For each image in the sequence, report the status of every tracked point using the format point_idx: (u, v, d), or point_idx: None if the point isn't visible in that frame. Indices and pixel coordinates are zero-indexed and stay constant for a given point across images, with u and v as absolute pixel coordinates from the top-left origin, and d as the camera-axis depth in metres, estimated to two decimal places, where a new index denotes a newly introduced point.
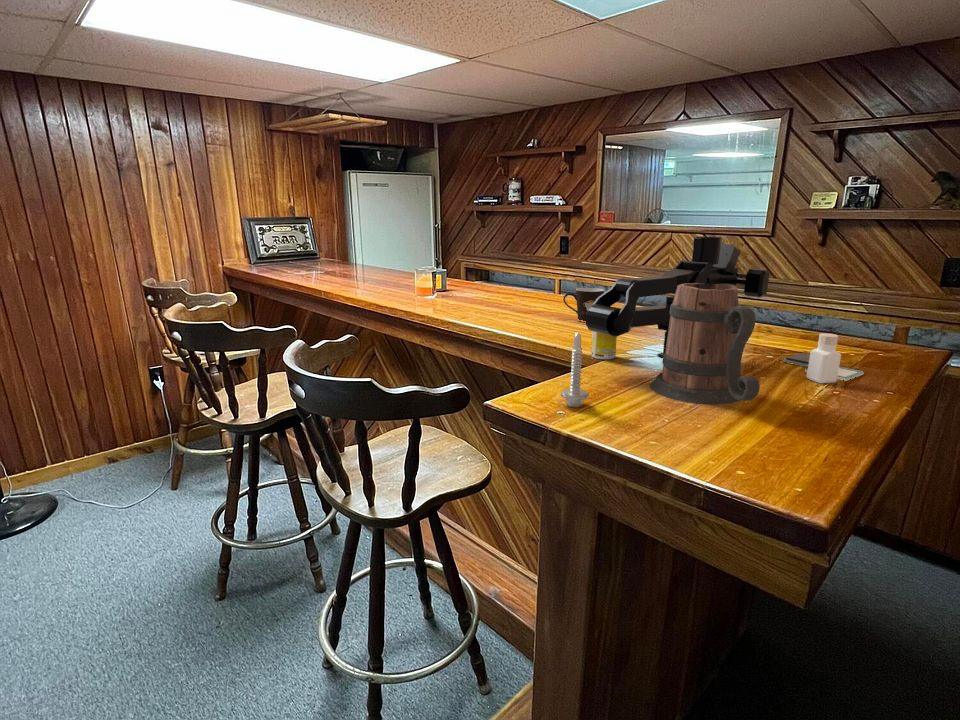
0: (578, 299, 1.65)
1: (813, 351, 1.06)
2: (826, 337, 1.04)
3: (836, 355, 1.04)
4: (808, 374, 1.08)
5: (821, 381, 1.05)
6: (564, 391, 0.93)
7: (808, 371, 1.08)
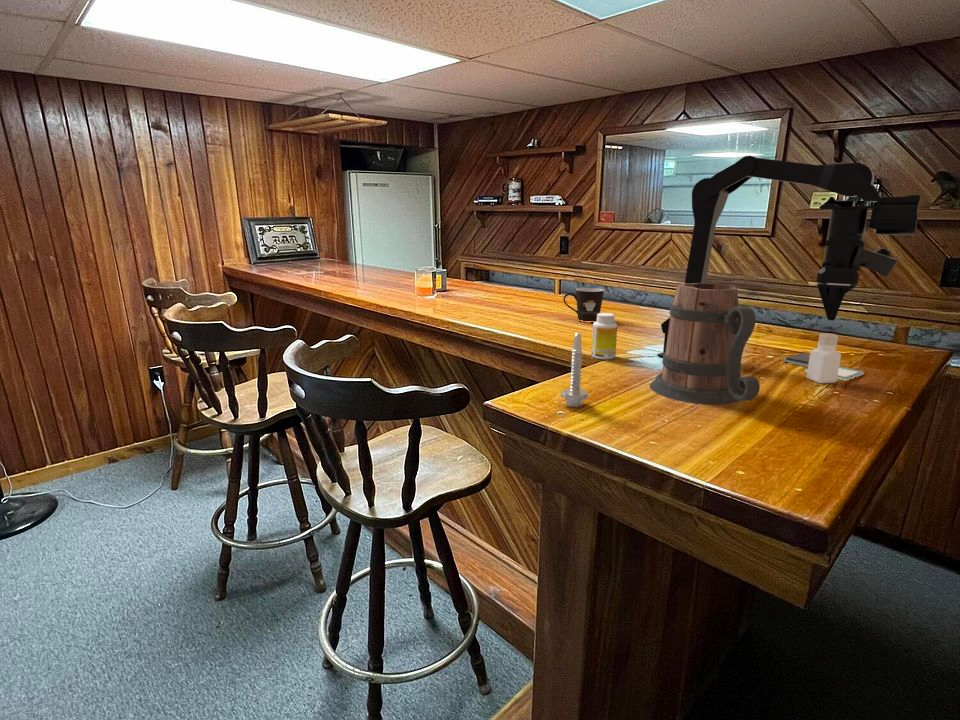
0: (578, 299, 1.65)
1: (813, 351, 1.06)
2: (826, 337, 1.04)
3: (836, 355, 1.04)
4: (808, 374, 1.08)
5: (821, 381, 1.05)
6: (564, 391, 0.93)
7: (808, 371, 1.08)
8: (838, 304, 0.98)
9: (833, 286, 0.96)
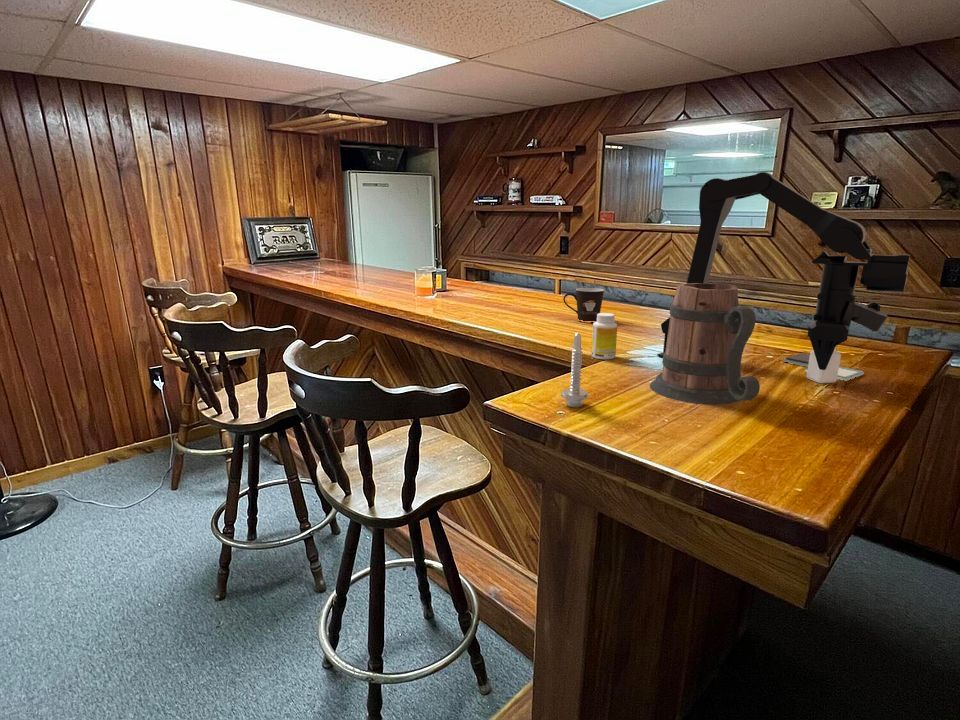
0: (578, 299, 1.65)
1: (813, 351, 1.06)
2: None
3: (836, 355, 1.04)
4: (808, 374, 1.08)
5: (821, 381, 1.05)
6: (564, 391, 0.93)
7: (808, 371, 1.08)
8: (829, 355, 1.02)
9: (824, 339, 1.00)
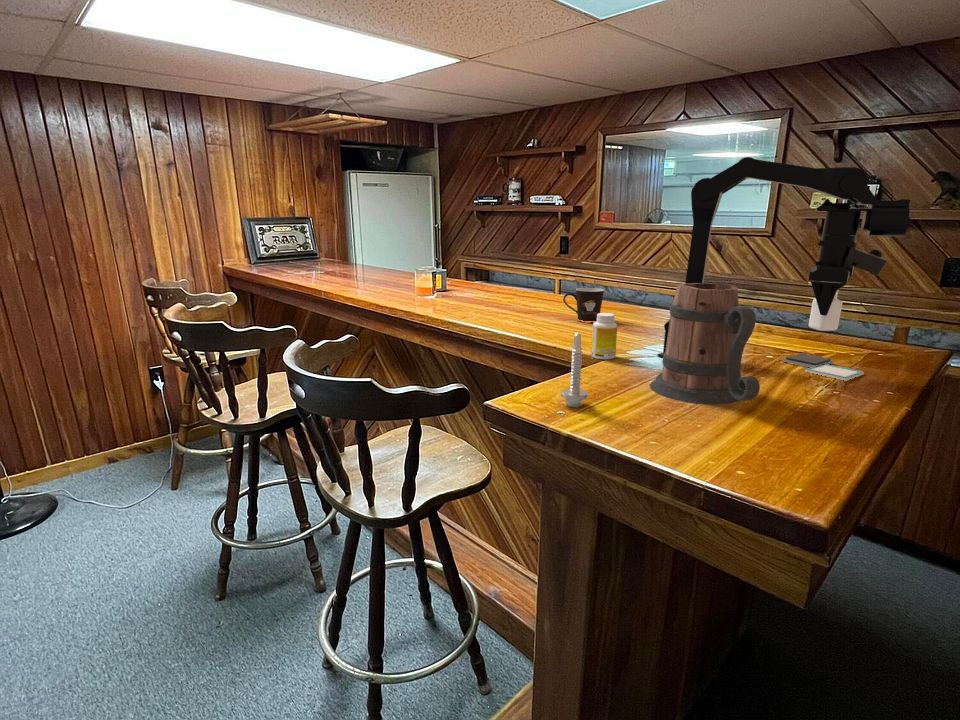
0: (578, 299, 1.65)
1: (815, 299, 1.09)
2: None
3: (838, 302, 1.07)
4: (810, 323, 1.11)
5: (822, 328, 1.08)
6: (564, 391, 0.93)
7: (810, 320, 1.11)
8: (830, 300, 1.05)
9: (825, 283, 1.03)
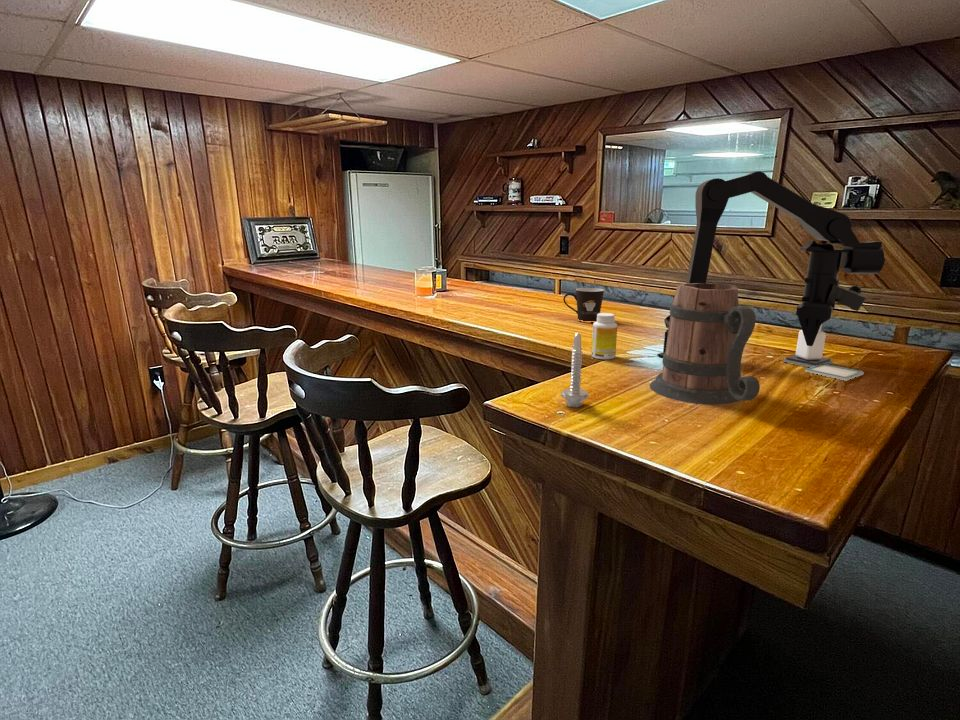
0: (578, 299, 1.65)
1: (801, 331, 1.19)
2: None
3: (822, 334, 1.16)
4: (797, 352, 1.20)
5: (808, 358, 1.18)
6: (564, 391, 0.93)
7: (797, 349, 1.20)
8: (815, 332, 1.15)
9: (811, 318, 1.12)
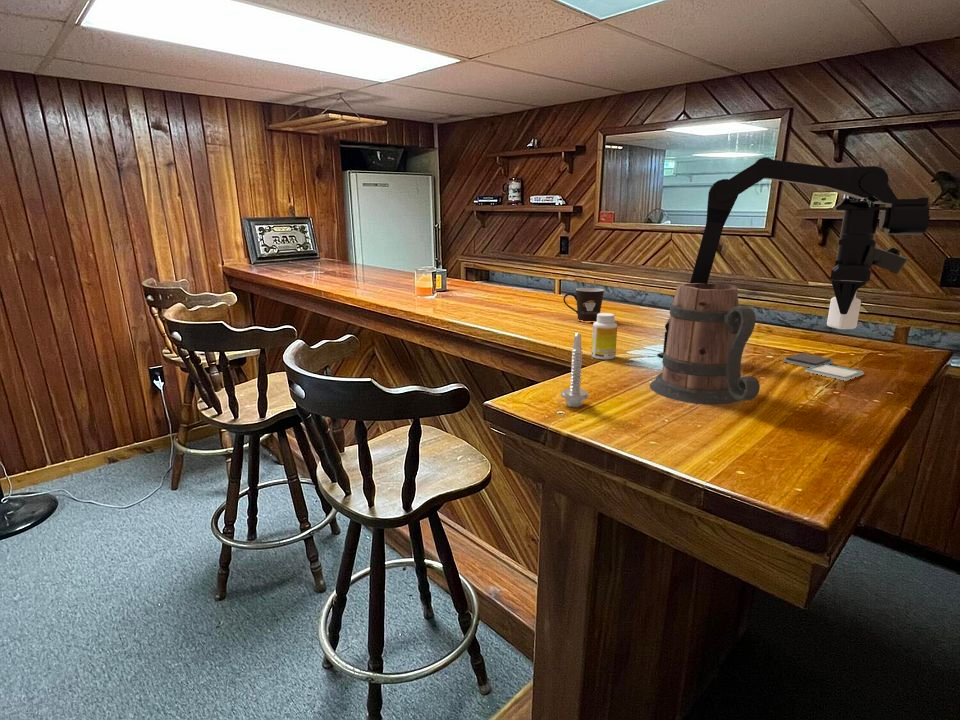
0: (578, 299, 1.65)
1: (833, 298, 1.09)
2: None
3: (857, 301, 1.07)
4: (828, 321, 1.11)
5: (842, 327, 1.08)
6: (564, 391, 0.93)
7: (828, 318, 1.11)
8: (850, 299, 1.05)
9: (846, 282, 1.03)
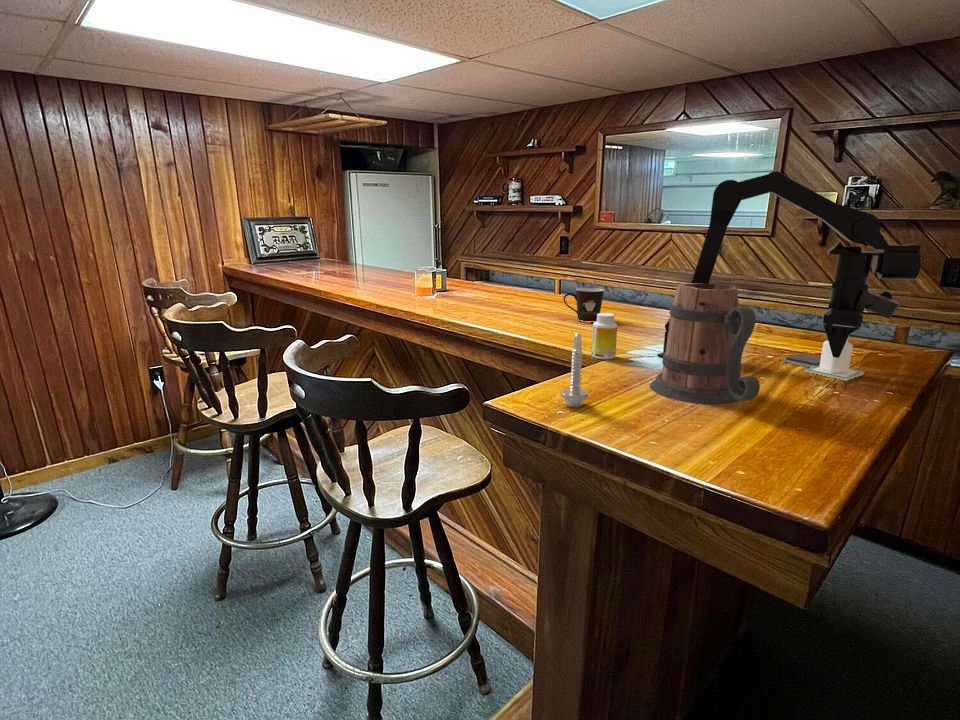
0: (578, 299, 1.65)
1: (826, 342, 1.11)
2: None
3: (848, 346, 1.09)
4: (821, 364, 1.13)
5: (834, 371, 1.10)
6: (564, 391, 0.93)
7: (821, 361, 1.13)
8: (843, 343, 1.05)
9: (838, 327, 1.03)
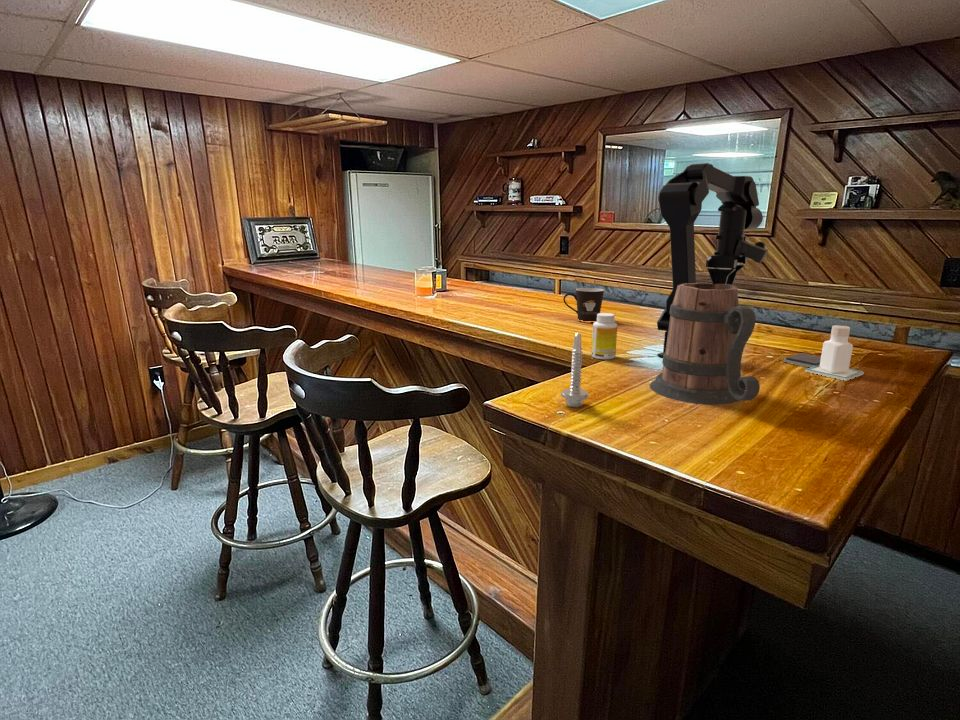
0: (578, 299, 1.65)
1: (826, 342, 1.11)
2: (839, 329, 1.09)
3: (848, 346, 1.09)
4: (821, 364, 1.13)
5: (834, 371, 1.10)
6: (564, 391, 0.93)
7: (821, 361, 1.13)
8: None
9: (718, 270, 1.26)
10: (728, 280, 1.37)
